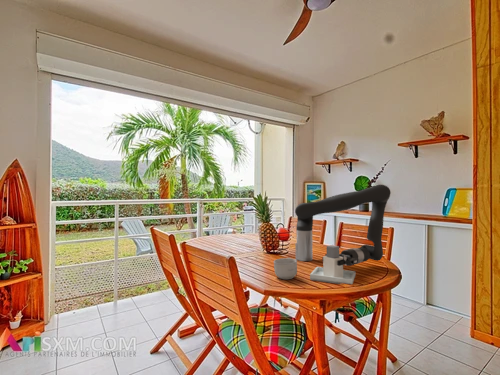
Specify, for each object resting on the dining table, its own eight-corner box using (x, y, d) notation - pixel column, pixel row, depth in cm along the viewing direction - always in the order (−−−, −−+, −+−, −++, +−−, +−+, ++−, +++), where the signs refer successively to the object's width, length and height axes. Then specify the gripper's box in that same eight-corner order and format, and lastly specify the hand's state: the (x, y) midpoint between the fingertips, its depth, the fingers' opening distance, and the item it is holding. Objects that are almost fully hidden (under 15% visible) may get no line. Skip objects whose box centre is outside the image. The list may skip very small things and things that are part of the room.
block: (333, 276, 123) (333, 247, 123) (326, 274, 126) (326, 246, 126) (339, 274, 125) (339, 246, 125) (332, 272, 128) (332, 245, 128)
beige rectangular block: (334, 279, 121) (334, 259, 121) (323, 275, 126) (323, 256, 126) (343, 276, 125) (343, 257, 125) (332, 273, 130) (332, 254, 130)
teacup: (291, 282, 119) (291, 264, 119) (269, 278, 125) (269, 261, 125) (303, 274, 131) (303, 258, 131) (282, 271, 136) (282, 255, 137)
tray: (310, 279, 123) (309, 274, 123) (316, 271, 135) (316, 266, 136) (352, 285, 115) (352, 279, 115) (355, 276, 128) (355, 271, 128)
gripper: (340, 246, 139) (318, 250, 130) (365, 251, 127) (343, 256, 118) (340, 261, 139) (318, 266, 130) (365, 267, 127) (343, 273, 118)
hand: (330, 261), depth 124 cm, fingers open, 8 cm apart
